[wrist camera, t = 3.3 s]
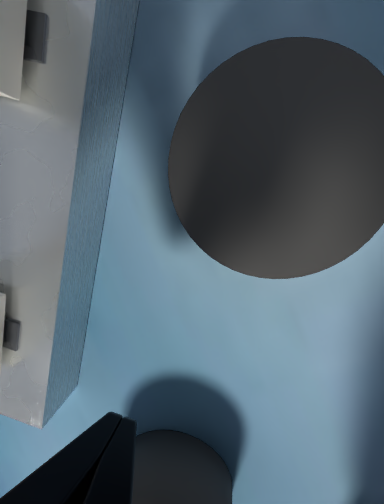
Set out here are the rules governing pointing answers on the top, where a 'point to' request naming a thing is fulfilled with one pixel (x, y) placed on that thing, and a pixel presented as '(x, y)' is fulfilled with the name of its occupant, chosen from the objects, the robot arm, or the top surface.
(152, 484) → the coil
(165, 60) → the top surface
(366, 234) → the coil
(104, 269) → the top surface
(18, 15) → the switch
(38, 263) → the panel
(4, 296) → the switch
